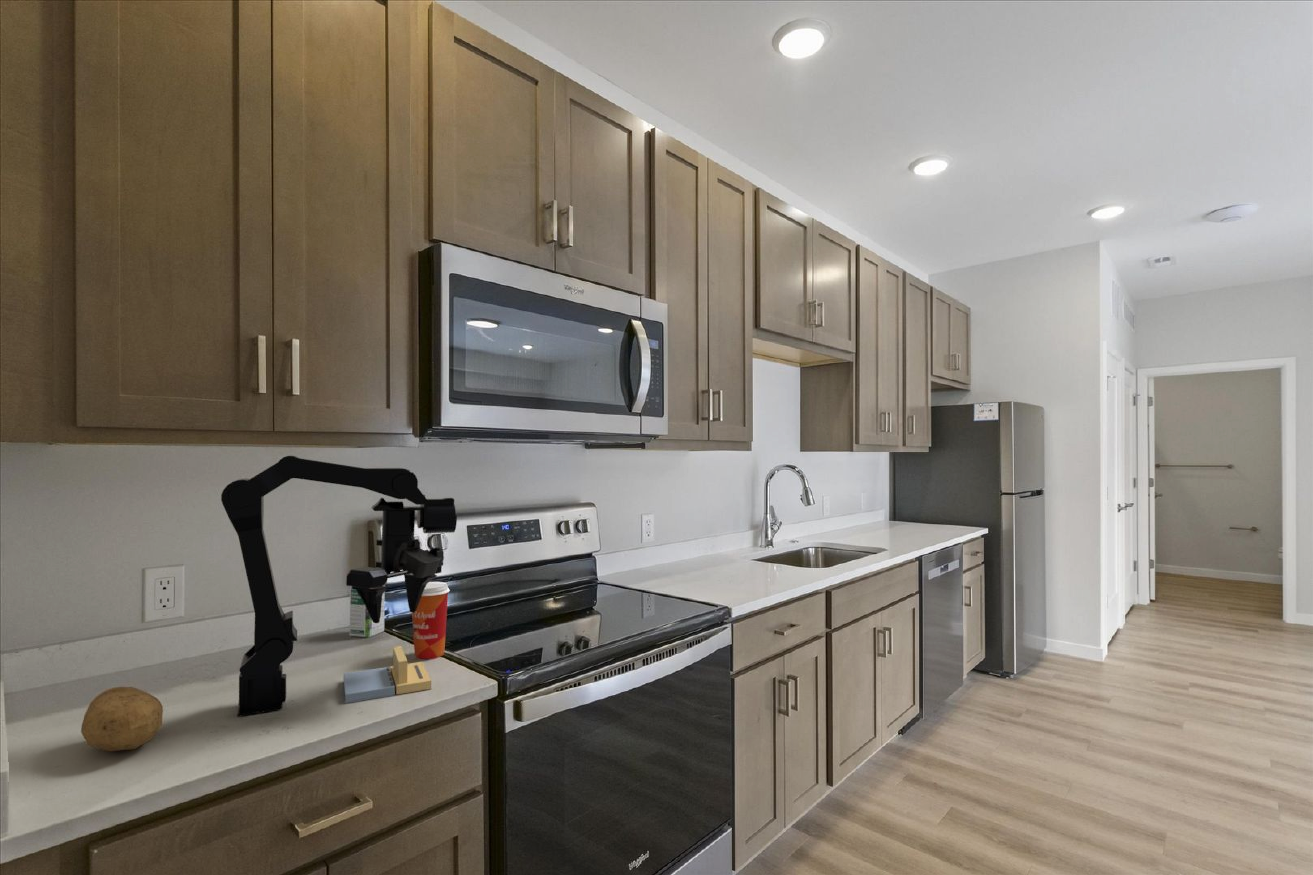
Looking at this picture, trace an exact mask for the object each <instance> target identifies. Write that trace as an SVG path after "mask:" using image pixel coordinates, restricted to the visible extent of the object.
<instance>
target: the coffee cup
mask: <svg viewBox="0 0 1313 875" xmlns="http://www.w3.org/2000/svg"><path fill="white" fill-rule="evenodd" d="M450 591H451V590H450V588H449V586H448V583H446V582H443V581H430V582H428V583H427V585H426V587H425V589H424V591H423V594H422V596H421V599H420V602H419V604H418V607H417V610H416V612H414V613H413V612H411V617H412V634H413V635H412V636H413V637H412V638H413V648H414V650H413V651H414V658H416V659H418V660H434V659H438V658H441V657H442V656H444V655H445V650H446V649H445V647H446V635H447V634H446V633H447V632H446V631H447V620H448V619H447V616H448V614H447V613H448V598H449V597H448V596H449V592H450Z"/></svg>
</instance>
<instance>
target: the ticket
mask: <svg viewBox="0 0 1313 875" xmlns="http://www.w3.org/2000/svg"><path fill="white" fill-rule="evenodd" d="M343 689H344V700H345V701H344V702H345V704H350V703H357V702H363V701H367V700H372V699H381V698H386V697H392V696H395V695H396V691H395V686H394V683H393V679H392V676H391V673H390V666H385V667H379V668H373V669H365V670H360V671H359V670H358V671H353V672H345V673H343Z"/></svg>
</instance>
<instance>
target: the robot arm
mask: <svg viewBox="0 0 1313 875" xmlns="http://www.w3.org/2000/svg"><path fill="white" fill-rule="evenodd" d="M291 479H299V480H306V481H313V482H320V483H327V484H332V485H333V484H334V485H341V486H347V487H354V488H363V489H366V490H368V491H371V492H375V493H378V494H381V495H384V496H388V497H390V498H394V499H397V500H407V501H409V502H411V503H413V504H414V505H418V506H404V501H386V499H385V498H384V497H380V498H379V500H378V501H377V502H376V503H375V504H373V505H371V510H372V511H374V512H382V522H381V524H382V526H381V527H382V528H381V539H377V540H376V546H380V548H381V549H380V561H379V560H378V561H376V562H375V567H372V566H371V567H369V566H364V567H358V568H352V569H350V570H349V572H347V573H346V583H345V584H346V586H347V587H350V586H352V589H355V590H356V591H357V592H358V594H359V595H360V597H361V599H362V600H363V602H364V604H365V606H366V608H367V610H368V612H369V614H370V617H371V619H372V621H373V622H374V623H379V621H380V616H381V604H382V594H383V593H384V592H386V591H387V590H388V588H389V587H388V586H386V583H387V582H388V580H389V579H391V578H396V577H400V576H404V583H405V590H406V598H407V605H408V608H409V612H410V613H412V612H413V613H414V612H416V610H417V607H418V604H419V602H420V599H421V596H422V594H423V591H424V589H425V587H426V585H427V583H428V582H432V580H433V579H435V578H437V576H438V575H437V574H440V573H442V567H443V566H444V559H445V556H444V555H445V554H444V549H442V548H441V547H433V548H430V550H429V549H422V548H421V542H420V539H418V538H417V539H416V538H415V523H416V525H417V529H422V532H423V534H445V533H455V531H456V527H457V522H458V521H457V520H458V519H457V518H458V516H457V514H456V505H455V498H453V497H443V498H426V495H425V494H423V493H422V490H420V488H419V487H418V486H419V485H418V484H419V482H418V478H417V476H416V474H415V473H414V472H413V470H412V471H411V469H410V470H409V469H407V468H403V467H366V468H365V467H359V466H352V465H347V464H339V463H333V462H326V461H319V460H314V459H309V458H300V457H298V456H295V455H287V456H286V455H285V456H284V457H282V458H280V459H279V460H278V462H276V463H274V464H273V465H271V466H270V467H268V468H266V469H265V470H262V471H261V472H260V473H258V474H256V475H254V476H253V477H251V478H238V479H236V480H233V481H231V482H230V483H228V484H227V485H226V486H225V487H224V488H223V490H222V492H221V495H220V497H221V498H220V500H221V504H222V505H223V508H224V510H225V512H226V515H227V517H228V519H229V521H230V523H231V525H232V528H233V529H234V530H235V532H236V536H238V540H239V541H238V542H239V546H240V550H241V551H240V552H241V555H242V560H243V563H244V564H243V565H244V570H245V573H246V578H247V583H248V587H249V593H250V597H251V602H252V606H253V611H254V632H253V633H254V634H253V635H254V638H253V640H254V641H253V642H254V644H253V645H252V646H251V647H250V648H249V649H248V650H247V651H246V652H245V653H244V654H243V656H242V660H241V664H240V667H239V675H238V708H237V712H236V716H237V717H240V716H242V717H243V716H246V715H252V714H260V713H266V712H272V711H278V710H281V709H282V708H283V703H285V702H286V700H287V674H286V673H283V672H284V671H283V668H284V667H283V665H281V664H282V663H284V662H286V660H288V659H289V657H290V656H291V655H292V653H293V650H294V644H295V643H294V642H297V641H298V629H297V628H296V627H295V623H294V610H289V611H287V612H284V610H283V609H282V608H283V607H282V606H281V604H280V602H279V597H278V591H277V587H276V582H275V579H274V578H275V577H274V573H273V568H272V563H271V559H270V554H269V550H268V545H267V544H268V543H267V540H266V536H265V531H264V518H265V517H264V516H265V515H264V514H265V513H264V512H265V511H264V510H265V509H264V508H265V506H264V505H265V504H264V501H265V500H264V499H265V498H264V497H265V496H266V495H268V494H269V493H271V492H273V491H274V490H276V489H277V488H279V487H280V486H282V485H283V484H285V483H287V482H288V481H290V480H291ZM419 505H420V506H419ZM416 512H417V513H416ZM416 514H417V515H416ZM415 520H416V521H415ZM384 585H385V586H384ZM384 594H385V593H384Z"/></svg>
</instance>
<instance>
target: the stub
mask: <svg viewBox="0 0 1313 875" xmlns="http://www.w3.org/2000/svg"><path fill="white" fill-rule="evenodd" d="M392 650H393V651H392V654H393V655H392V656H393V657H392V660H393V662H392V663H393V664H392V666H389V670H390V673H391V676H392V679H393V683H394V686H395V695H401V694H408V693H409V694H410V693H415V692H419V691H420V692H421V691H426V690H432V679H431V678H430V677H431V676H430V675H429V673H428V670H427V669H426V666H425V665H424V662H423V661H418V662H412V663H411V662H410V663H408V659H407V656H406V653H405V651H404V649H403V646H402V645H400V646H394V647H393V648H392Z"/></svg>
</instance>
